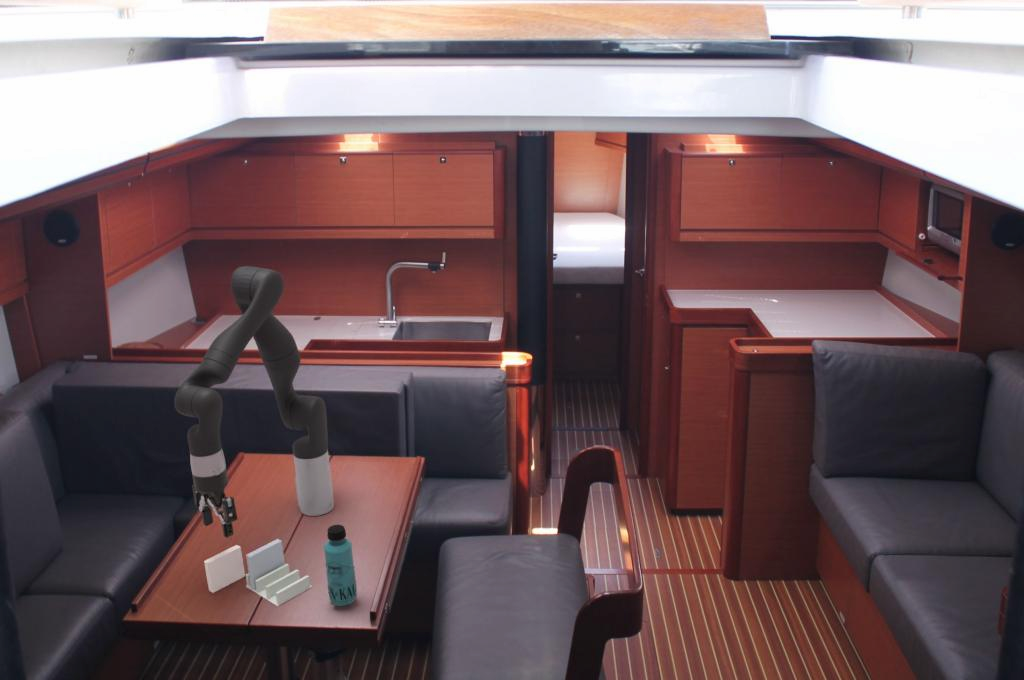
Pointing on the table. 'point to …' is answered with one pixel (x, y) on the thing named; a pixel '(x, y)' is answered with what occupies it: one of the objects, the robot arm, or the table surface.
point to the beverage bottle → (340, 567)
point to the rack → (280, 585)
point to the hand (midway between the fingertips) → (218, 530)
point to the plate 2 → (265, 560)
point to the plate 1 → (224, 568)
